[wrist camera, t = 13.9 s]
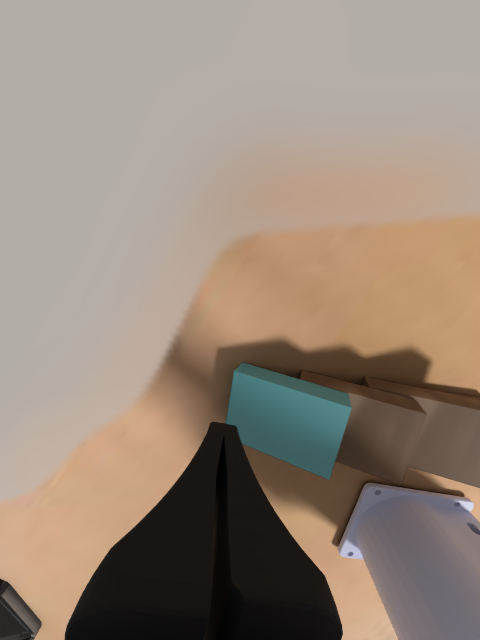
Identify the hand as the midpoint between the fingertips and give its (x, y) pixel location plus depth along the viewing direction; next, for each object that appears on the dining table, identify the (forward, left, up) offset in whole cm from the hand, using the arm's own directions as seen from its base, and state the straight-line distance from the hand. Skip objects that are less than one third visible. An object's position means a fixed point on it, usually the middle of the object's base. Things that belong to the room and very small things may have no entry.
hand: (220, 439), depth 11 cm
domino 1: (-5, 0, -4) cm, 7 cm away
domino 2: (-10, 0, -4) cm, 11 cm away
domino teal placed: (-1, 0, -4) cm, 4 cm away
